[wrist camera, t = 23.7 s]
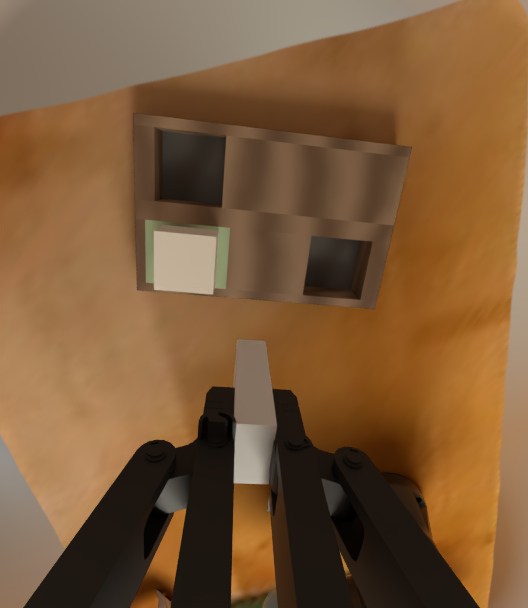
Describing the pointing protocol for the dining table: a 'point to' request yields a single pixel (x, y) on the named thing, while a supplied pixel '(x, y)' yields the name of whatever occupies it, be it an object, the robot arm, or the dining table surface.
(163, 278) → the block
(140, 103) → the dining table surface
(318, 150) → the board
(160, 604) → the hammer
